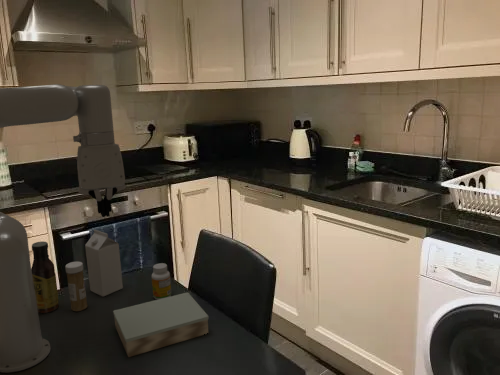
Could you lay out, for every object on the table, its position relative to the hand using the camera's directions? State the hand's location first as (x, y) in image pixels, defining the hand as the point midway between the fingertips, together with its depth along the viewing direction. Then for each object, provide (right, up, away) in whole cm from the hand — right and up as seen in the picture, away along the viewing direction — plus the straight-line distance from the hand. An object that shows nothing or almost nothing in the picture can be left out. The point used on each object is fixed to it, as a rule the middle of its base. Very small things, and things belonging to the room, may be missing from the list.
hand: (105, 215), depth 106 cm
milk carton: (-10, -25, +30) cm, 41 cm away
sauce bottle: (-23, -28, +19) cm, 41 cm away
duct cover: (+12, -26, +6) cm, 29 cm away
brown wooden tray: (+12, -30, +7) cm, 33 cm away
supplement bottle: (+9, -26, +25) cm, 37 cm away
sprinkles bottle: (-14, -28, +20) cm, 37 cm away
